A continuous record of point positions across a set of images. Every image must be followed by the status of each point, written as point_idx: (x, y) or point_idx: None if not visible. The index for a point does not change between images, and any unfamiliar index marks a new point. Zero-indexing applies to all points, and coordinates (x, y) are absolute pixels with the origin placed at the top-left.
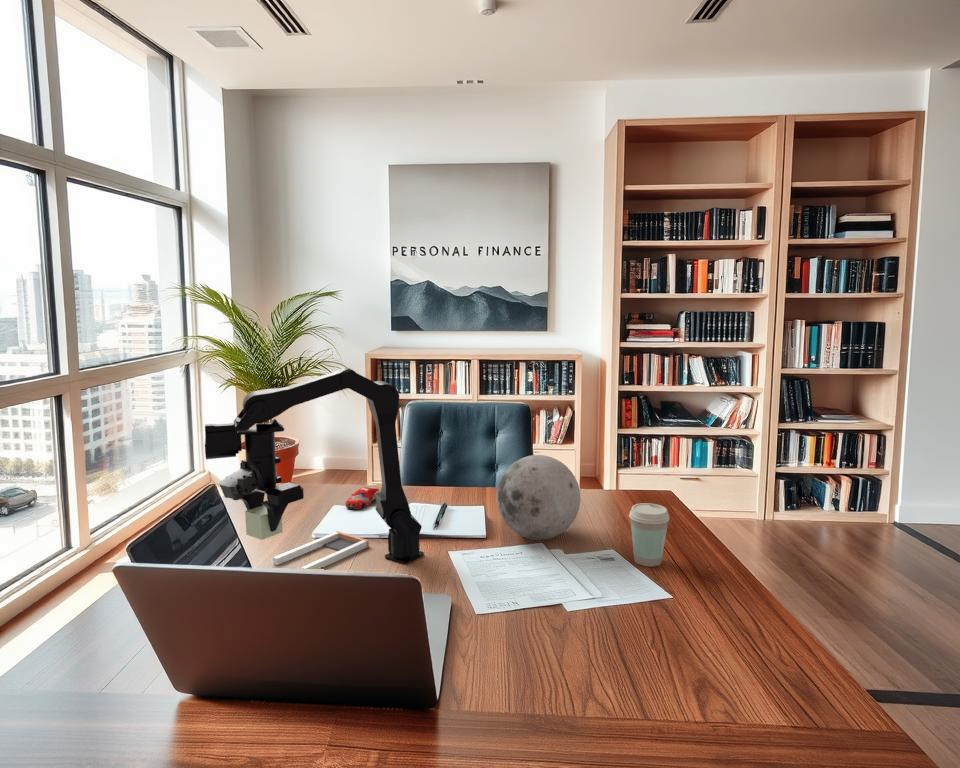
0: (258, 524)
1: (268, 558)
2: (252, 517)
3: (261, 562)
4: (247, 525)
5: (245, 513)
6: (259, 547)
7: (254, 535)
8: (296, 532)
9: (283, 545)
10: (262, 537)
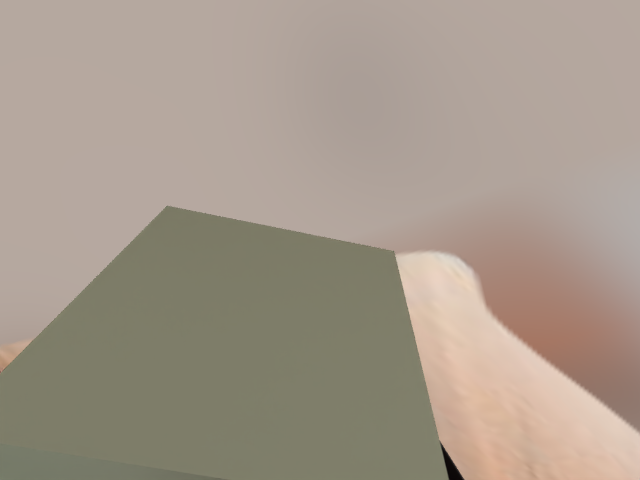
0: (136, 309)
1: (425, 311)
2: (248, 399)
3: (430, 281)
4: (380, 310)
5: (438, 464)
6: (514, 363)
7: (271, 236)
8: (455, 455)
9: (438, 391)
10: (157, 222)
